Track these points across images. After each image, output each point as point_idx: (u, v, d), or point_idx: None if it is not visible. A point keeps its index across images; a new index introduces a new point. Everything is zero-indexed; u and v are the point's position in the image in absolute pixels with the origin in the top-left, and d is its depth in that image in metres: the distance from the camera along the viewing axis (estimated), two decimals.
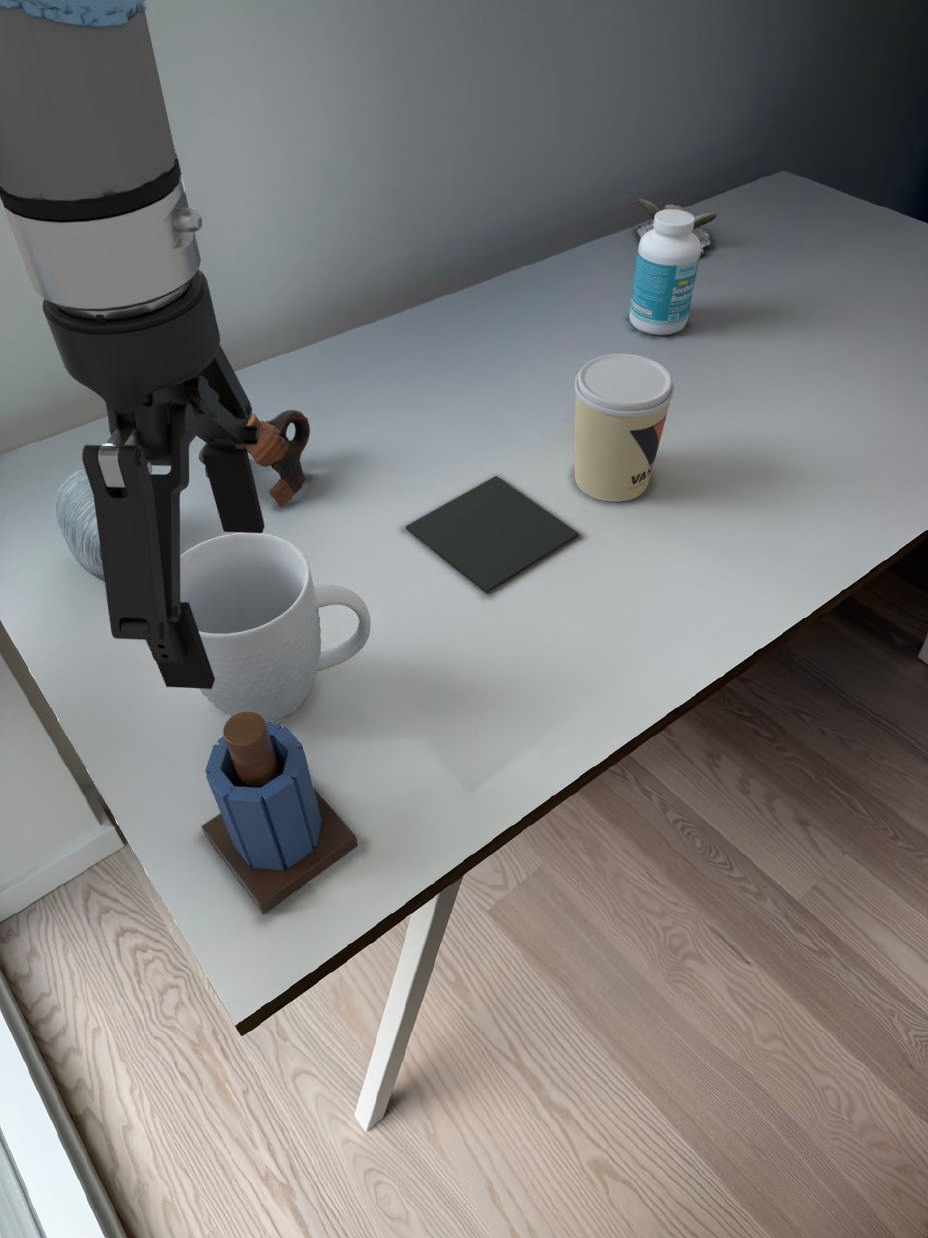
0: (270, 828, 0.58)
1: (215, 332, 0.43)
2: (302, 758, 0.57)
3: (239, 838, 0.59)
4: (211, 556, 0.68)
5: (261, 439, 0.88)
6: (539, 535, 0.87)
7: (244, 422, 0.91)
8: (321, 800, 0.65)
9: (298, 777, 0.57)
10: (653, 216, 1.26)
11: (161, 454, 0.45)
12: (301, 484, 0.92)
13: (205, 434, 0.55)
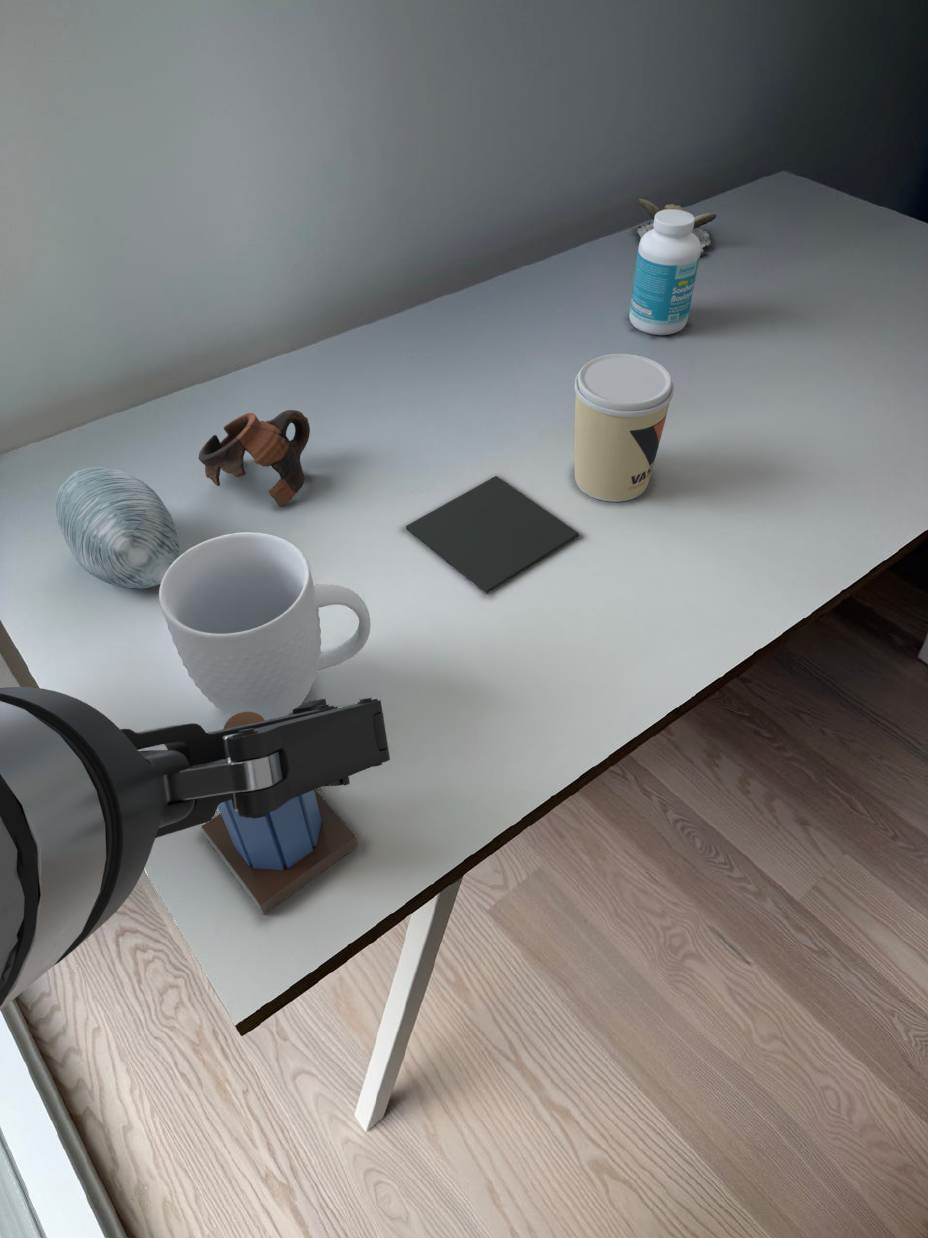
0: (270, 828, 0.58)
1: None
2: None
3: (239, 838, 0.59)
4: (211, 556, 0.68)
5: (261, 439, 0.88)
6: (539, 535, 0.87)
7: (244, 422, 0.91)
8: (321, 800, 0.65)
9: None
10: (653, 216, 1.26)
11: None
12: (301, 484, 0.92)
13: None
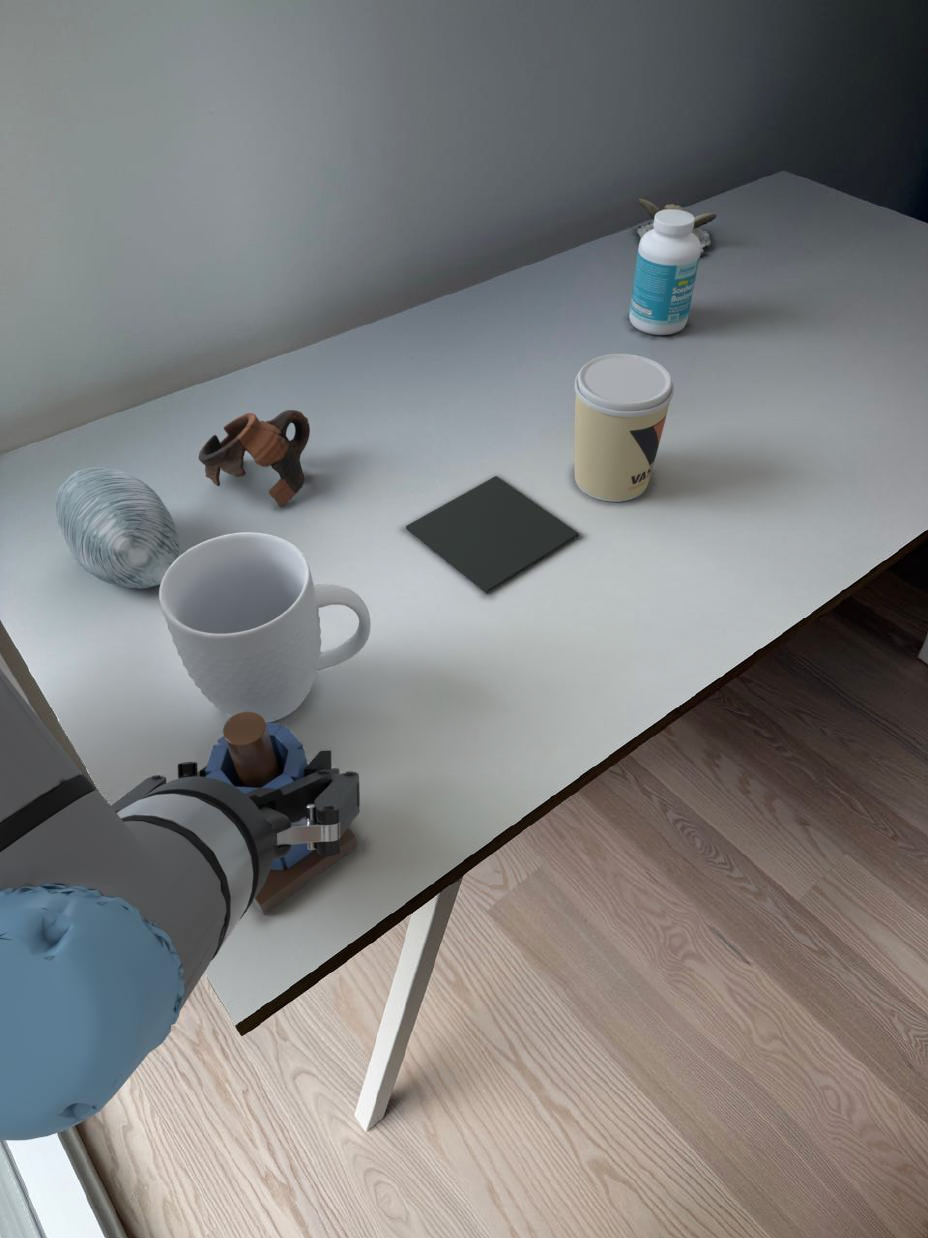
0: None
1: None
2: (302, 758, 0.57)
3: None
4: (211, 556, 0.68)
5: (261, 439, 0.88)
6: (539, 535, 0.87)
7: (244, 422, 0.91)
8: None
9: (298, 777, 0.57)
10: (653, 216, 1.26)
11: None
12: (301, 484, 0.92)
13: None
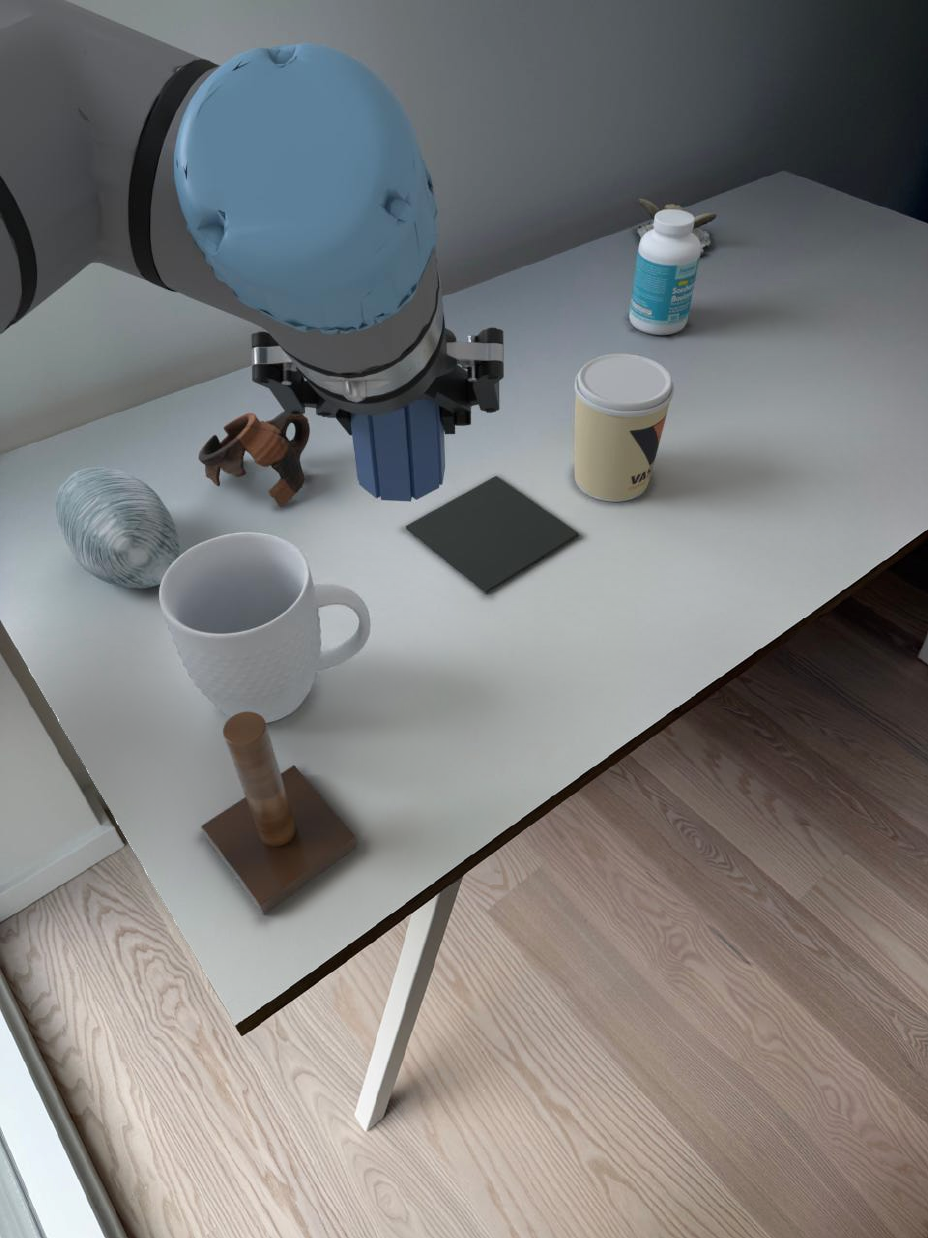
0: (406, 434, 0.57)
1: (374, 412, 0.44)
2: None
3: (372, 453, 0.59)
4: (211, 556, 0.68)
5: (261, 439, 0.88)
6: (539, 535, 0.87)
7: (244, 422, 0.91)
8: (321, 800, 0.65)
9: None
10: (653, 216, 1.26)
11: None
12: (301, 484, 0.92)
13: None
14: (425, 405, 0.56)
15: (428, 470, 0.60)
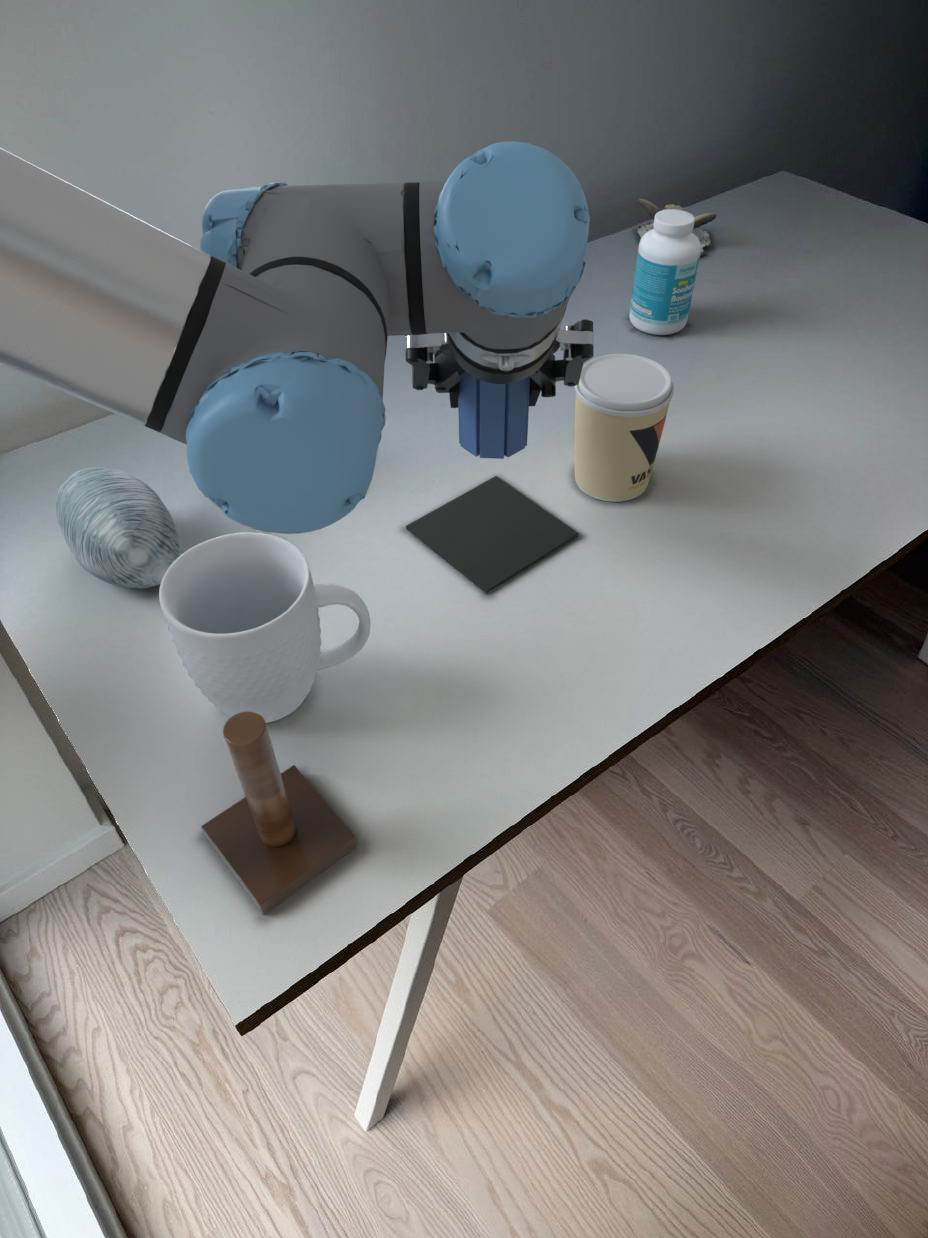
0: (505, 403, 0.73)
1: (505, 381, 0.60)
2: None
3: (476, 419, 0.75)
4: (211, 556, 0.68)
5: None
6: (539, 535, 0.87)
7: None
8: (321, 800, 0.65)
9: None
10: (653, 216, 1.26)
11: None
12: None
13: None
14: (520, 381, 0.73)
15: (518, 433, 0.76)
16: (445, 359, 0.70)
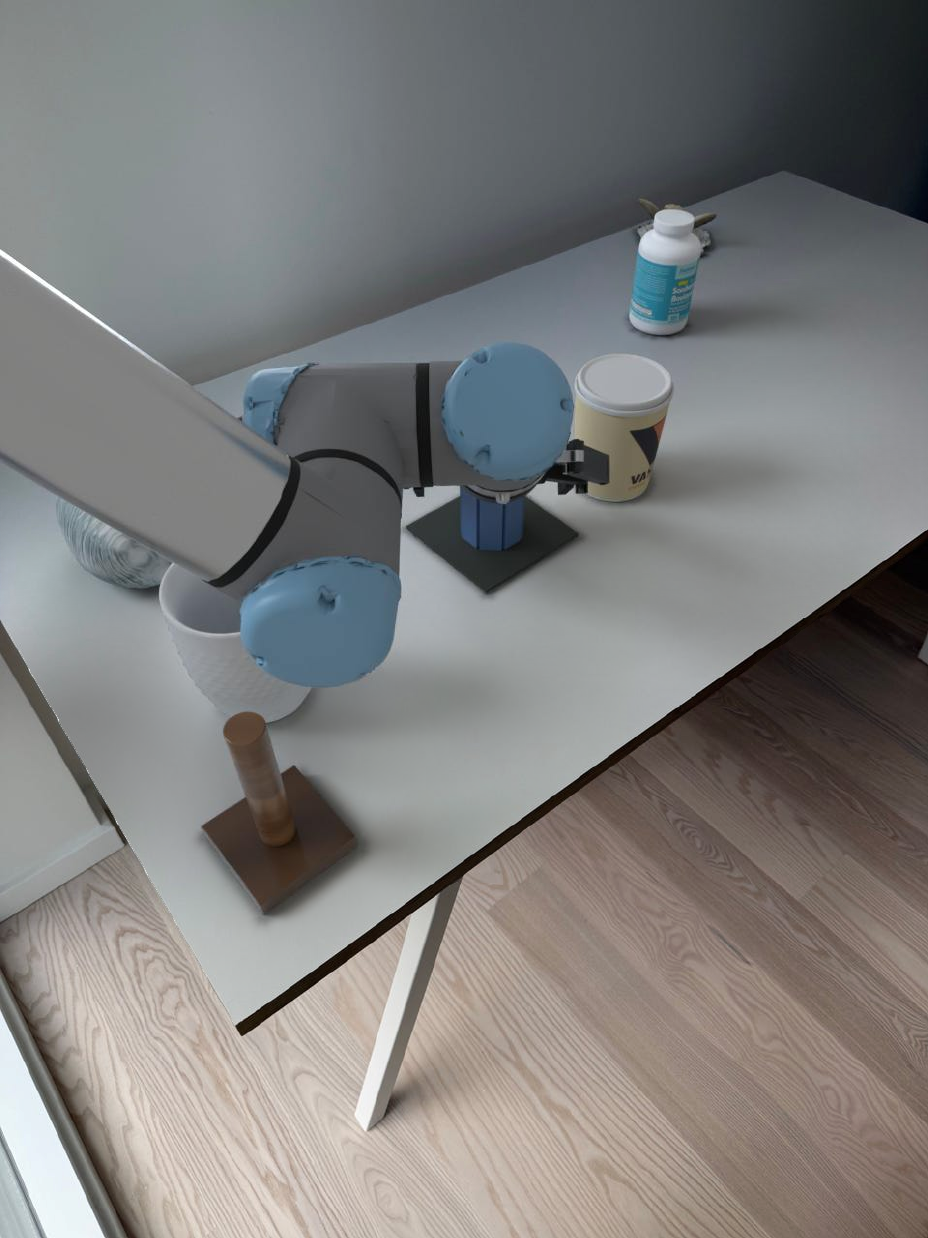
0: (502, 505, 0.81)
1: None
2: None
3: (476, 518, 0.83)
4: None
5: None
6: (539, 535, 0.87)
7: None
8: (321, 800, 0.65)
9: None
10: (653, 216, 1.26)
11: None
12: None
13: None
14: None
15: (514, 529, 0.84)
16: None
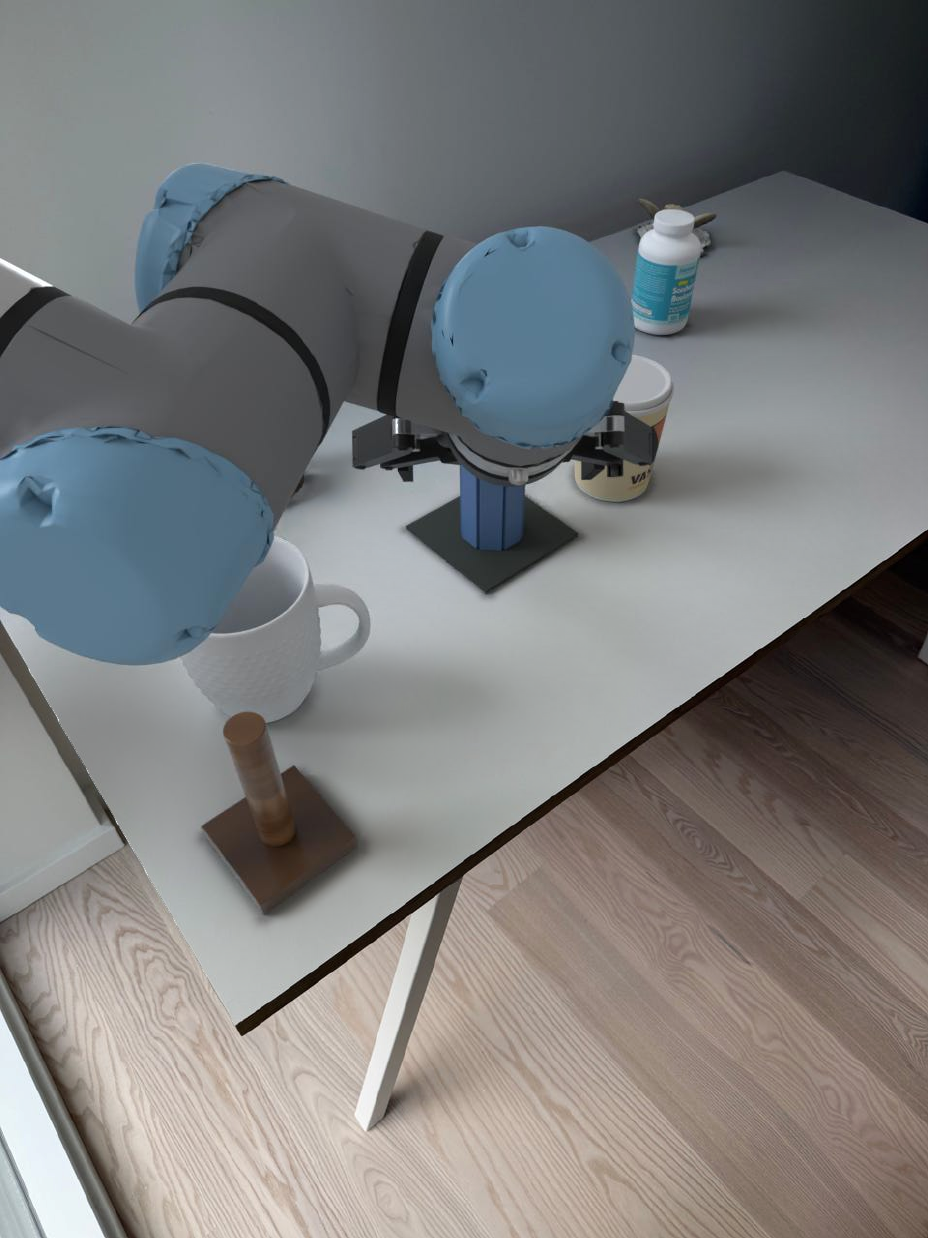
0: (502, 505, 0.81)
1: (515, 485, 0.50)
2: None
3: (476, 518, 0.83)
4: None
5: None
6: (539, 535, 0.87)
7: None
8: (321, 800, 0.65)
9: None
10: (653, 216, 1.26)
11: None
12: (301, 484, 0.92)
13: None
14: (516, 486, 0.81)
15: (514, 529, 0.84)
16: None
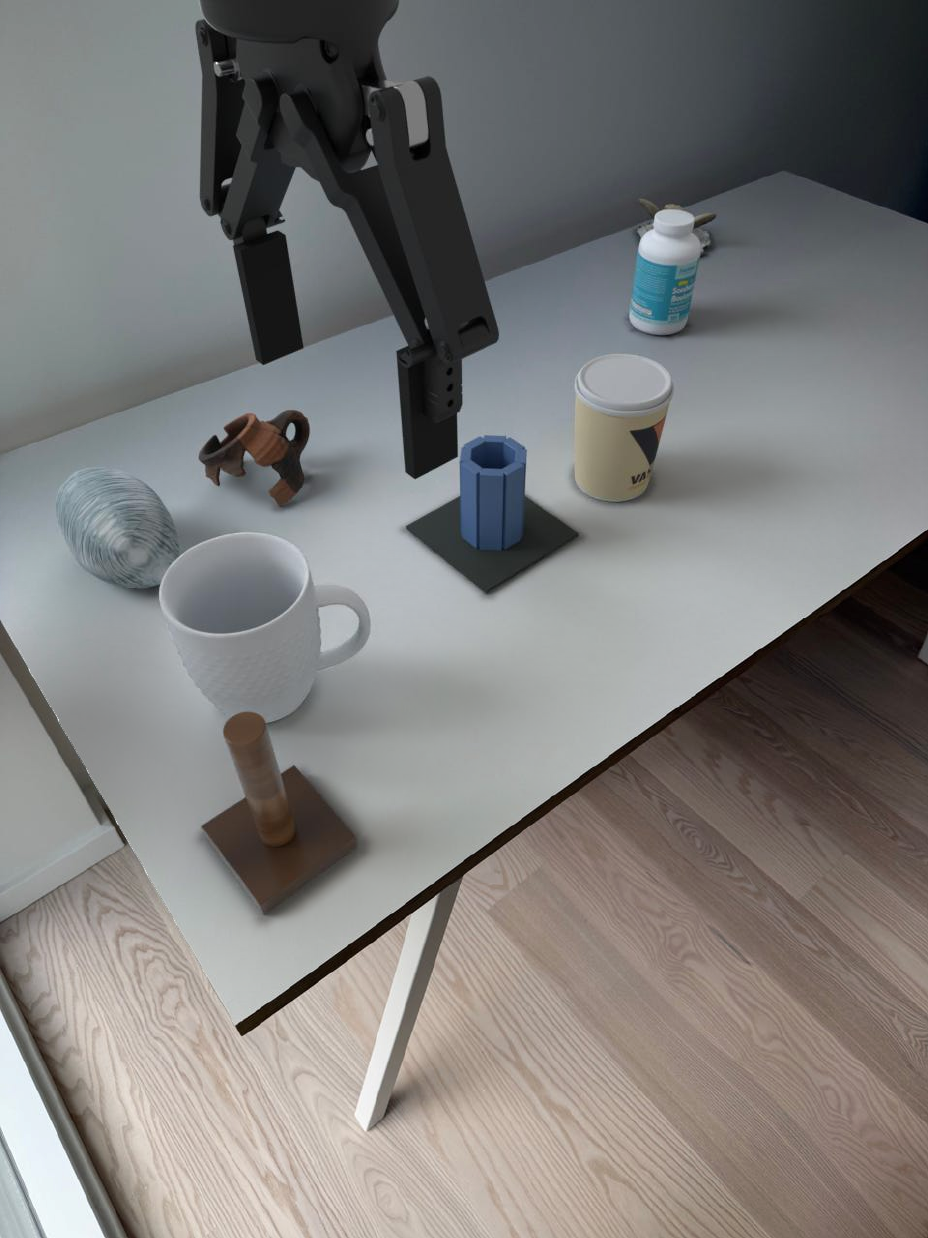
0: (502, 505, 0.81)
1: None
2: (526, 454, 0.81)
3: (476, 518, 0.83)
4: (211, 556, 0.68)
5: (261, 439, 0.88)
6: (539, 535, 0.87)
7: (244, 422, 0.91)
8: (321, 800, 0.65)
9: None
10: (653, 216, 1.26)
11: None
12: (301, 484, 0.92)
13: None
14: (516, 486, 0.81)
15: (514, 529, 0.84)
16: None
